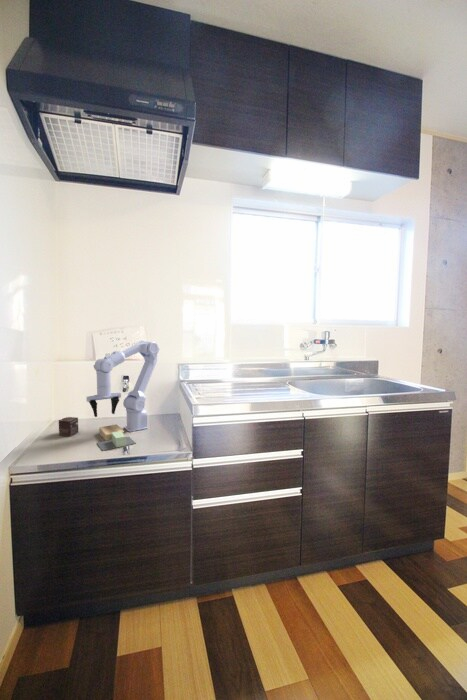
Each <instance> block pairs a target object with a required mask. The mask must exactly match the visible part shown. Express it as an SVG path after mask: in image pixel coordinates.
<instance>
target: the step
mask: <svg viewBox="0 0 467 700" xmlns="http://www.w3.org/2000/svg"><path fill="white" fill-rule="evenodd" d="M98 428H99V432H98V433H99V434H100V437H102V438H103V440H104V441H109V440H112V432H118V431H121V432H122V433H123V434H124V435H125V430H124V429H123V428H121V427H120V426H119V425H118V424H111V425H105V426H99V427H98Z"/></svg>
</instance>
